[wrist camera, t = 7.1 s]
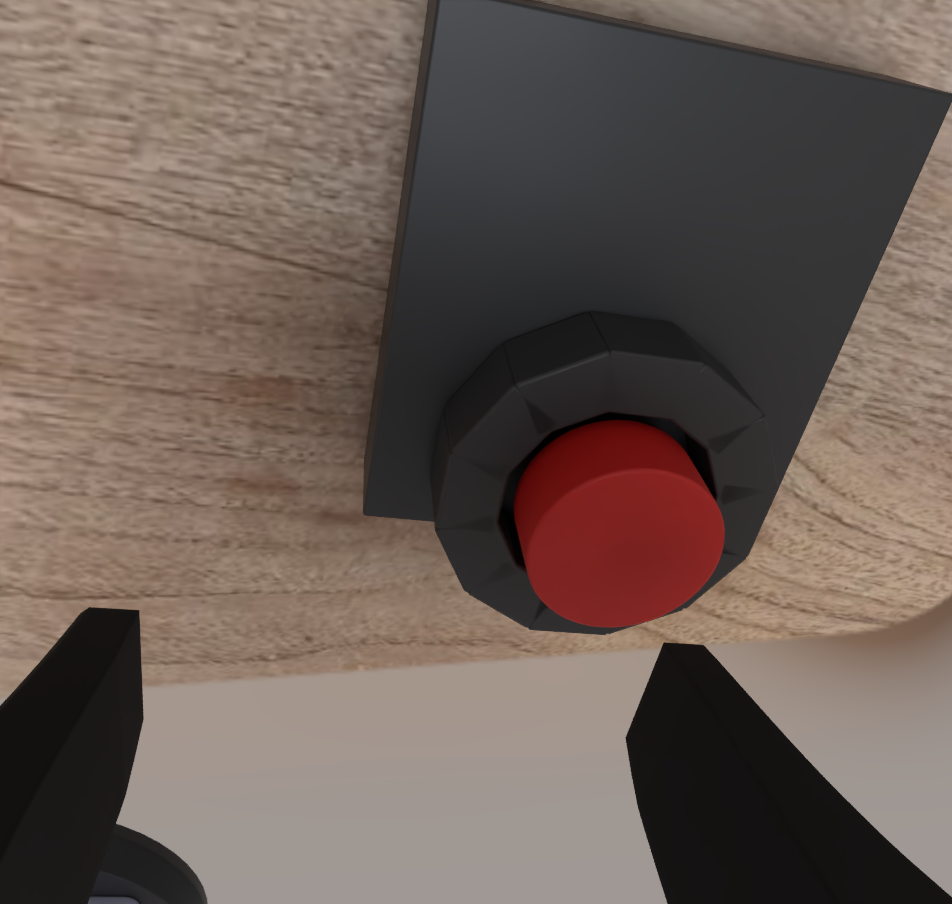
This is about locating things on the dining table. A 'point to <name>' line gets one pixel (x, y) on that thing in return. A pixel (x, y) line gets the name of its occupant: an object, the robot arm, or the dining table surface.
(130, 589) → the dining table surface
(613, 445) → the stop button
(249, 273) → the dining table surface
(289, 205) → the dining table surface
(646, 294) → the button box
